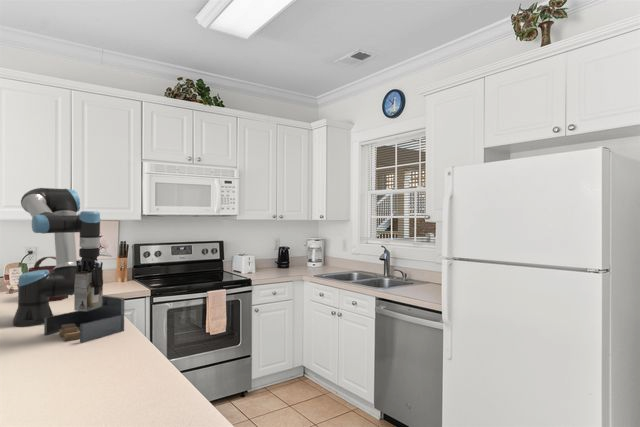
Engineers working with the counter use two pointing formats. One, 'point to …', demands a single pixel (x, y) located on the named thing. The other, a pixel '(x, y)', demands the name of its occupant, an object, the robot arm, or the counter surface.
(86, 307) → the coffee box
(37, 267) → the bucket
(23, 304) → the robot arm
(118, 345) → the counter surface
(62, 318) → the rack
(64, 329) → the offcut stack
